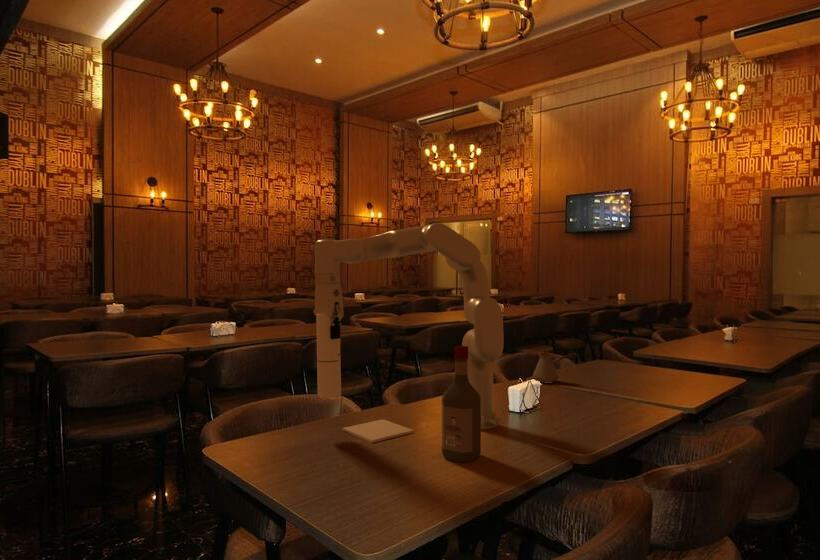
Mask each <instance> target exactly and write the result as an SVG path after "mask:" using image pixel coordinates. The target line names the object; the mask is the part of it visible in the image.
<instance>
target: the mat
mask: <svg viewBox="0 0 820 560" xmlns="http://www.w3.org/2000/svg"><path fill="white" fill-rule="evenodd" d="M342 430H343V432H345V431H346V432H345V433H347V432H348V433H347V434H349V433H350V434H349V435H351V436H355V437H357V438H359V439H361V440H363V441H366V442H367V443H368V442H369V443H371V444H373V443H378V442H382V441H385V440H389V439H393V438H397V437H401V436H407V435H408V434H409V435H410V434H413V433H415V432H414V429H412V428H408V427H406V426H404V425H400V424H398V423H395V422H392V421H389V420H386V419H383V418H382V419H379V420H374V421H369V422H365V423H359V424H355V425H350V426H345V427H342Z"/></svg>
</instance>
